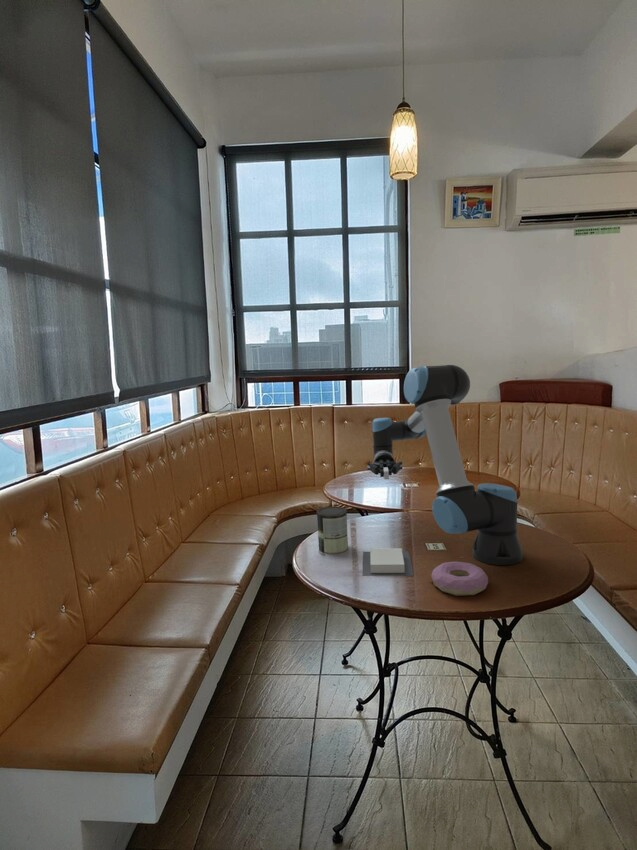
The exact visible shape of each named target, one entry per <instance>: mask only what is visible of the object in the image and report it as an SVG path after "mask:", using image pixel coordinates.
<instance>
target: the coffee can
mask: <svg viewBox="0 0 637 850" xmlns="http://www.w3.org/2000/svg"><path fill="white" fill-rule="evenodd" d="M347 513H348V510H347V509H346V507H342V506H326V507H325V506H324V507H321V508H319V509H317V510H316V518H317V520H316V521H317V538H318V541H317V542H318V552H319V554H320V555H323V554H324V555H323V556H326V554H328V555H332V554H333V555H334V554H336V555H337V554H341V553H344V552H346V551H348V550H349V537H348V516H347V515H348V514H347Z"/></svg>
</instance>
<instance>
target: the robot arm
mask: <svg viewBox="0 0 637 850" xmlns="http://www.w3.org/2000/svg"><path fill="white" fill-rule="evenodd" d="M470 389H471V381H470V376H469V375H468V373H467V372H466V370H465V369H463V368H462V367H461V366H458V365H455V364H445V365H443V364H442V365H422V366H417V367H412V368H411V369H410V370H409V371H408V372H407V373H406V376H405V378H404V382H403V395H404V399H405V400H406V401H407V402H408V403H409V404H413V405H414V407H415V411H414V412H413V414H411V416H409V417H408V418H407V419H406V420H401V421H400V420H399V421H393V420H392V419H391V418H390V417H378V418H374V419H373V420H372V439H373V440H372V441H373V462H367V465H366V466H367V471H370V472H372V473H373V474H374V475H376V476H377V475H379V474H380V476H379V477H380V478H384V479H383V480H389V479H390V476H392V475H397V474H398V473H399V471H400V470H402V469H403V462H402V461H398V462H397V461H395V459H394V454H393V453H394V452H393V451H394V449H393V442H398V441H404V440H405V441H406V440H417V439H421V438H423V437H425V436H426V437H427V441H428V445H429V449H430V453H431V459H432V462H433V465H434V470H435V473H436V477H437V481H438V486H439V487H438V489H437V490H436V492H435V493H436V494H435V495H436V498H435V499H433V502H432V507H431V508H432V509H431V510H432V515H433V518H434V520H435V522H436V524H437V526H438V527H439V528H440V529H442V531H444V532H445V533H446V534H449V535H455V534H464V533H467V532H469V533H470V532H474V531H477V533H476V537H475V540H474V543H473V545H472V556H473V558H474V559H476V560H477V561H478V562H479V561H480V562H482V563H484V564H488V565H494V566H511V565H512V566H513V565H517V564H519V563H521V562H522V561H523V558H524V552H523V548H522V545H521V543H520V542H521V541H520V539H519V537H518V503H519V501H518V497H517V496H518V495H517V491H516V490H515V489H514V488H513V487H511V486H508V485H504V484H497V483H487V482H486V483H479V484H478V485H477V490H476V488H475V484H474V483H472V482H470V481H469V480H468V479H467V475H466V471H465V468H464V467H465V466H464V464H463V459H462V456H461V452H460V448H459V444H458V441H457V440H458V439H457V437H456V433H455V428H454V426H453V421H452V418H451V414H450V410H449V408H450V407H452V406H456V405H458V404H459V403H460V402H462V401H463V400H464V399H465V398H466V397H467V395H468V394H469V392H470Z"/></svg>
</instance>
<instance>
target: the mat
mask: <svg viewBox="0 0 637 850" xmlns="http://www.w3.org/2000/svg"><path fill="white" fill-rule="evenodd" d="M402 554H403V560H404V570H405V573H371V563H370V551H362V574H361V575H362V576H363V577H365V576H367V577H369V576H372V577H375V576H377V577H378V576H380V577H381V576H382V577H383V576H384V577H385V576H386V577H387V576H389V577H390V576H392V577H393V576H394V577H395V576H397V577H398V576H409V577H413V576H414V575H415V574H414V572H413V567H412V561H411V557H410V552H409V551H408V550H404V551H403V550H402Z"/></svg>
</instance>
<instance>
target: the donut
mask: <svg viewBox="0 0 637 850" xmlns="http://www.w3.org/2000/svg"><path fill="white" fill-rule="evenodd" d="M430 576H431V579H432V582H433V583H432V584H433V585H434V586H436V587H437V588H438V589H439V590H440V591H441V592H443V593H447V594H450V595H452V596H453V595H454V596H456V597H457V596H475V595H477V594H479V593H481V592H483V591H484V590H485V589H486V588H487V586H488V584H489V577H488V575H487V573H485V571H484V570H483V568H482V567H479V566H477V565H475V564H473V563H471V562H463V561H449V562H443V563H441V564H440V565H437V566H436V567H434V568H433V569H432V572H431V575H430Z"/></svg>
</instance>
